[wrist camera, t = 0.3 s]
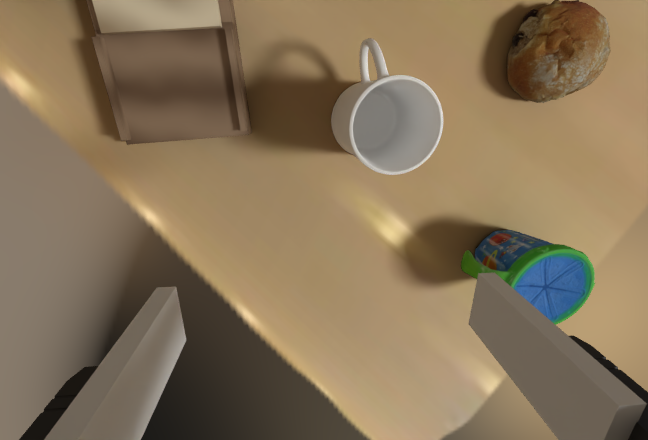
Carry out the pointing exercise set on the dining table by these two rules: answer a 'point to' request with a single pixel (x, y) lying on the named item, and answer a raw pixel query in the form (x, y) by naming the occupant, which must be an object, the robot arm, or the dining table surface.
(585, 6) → the bread roll
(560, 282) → the snack cup
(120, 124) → the brown sliding lid box
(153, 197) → the dining table surface
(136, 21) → the cover
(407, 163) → the mug
